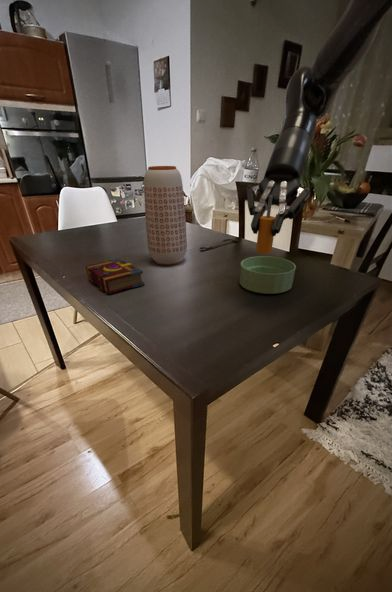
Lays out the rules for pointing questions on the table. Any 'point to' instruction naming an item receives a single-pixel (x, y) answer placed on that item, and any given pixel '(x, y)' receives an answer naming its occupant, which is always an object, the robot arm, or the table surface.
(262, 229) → the screwdriver
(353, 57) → the robot arm
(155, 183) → the patterned ceramic vase
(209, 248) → the tomahawk
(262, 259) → the green round bowl
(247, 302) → the table surface
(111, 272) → the decorative book
